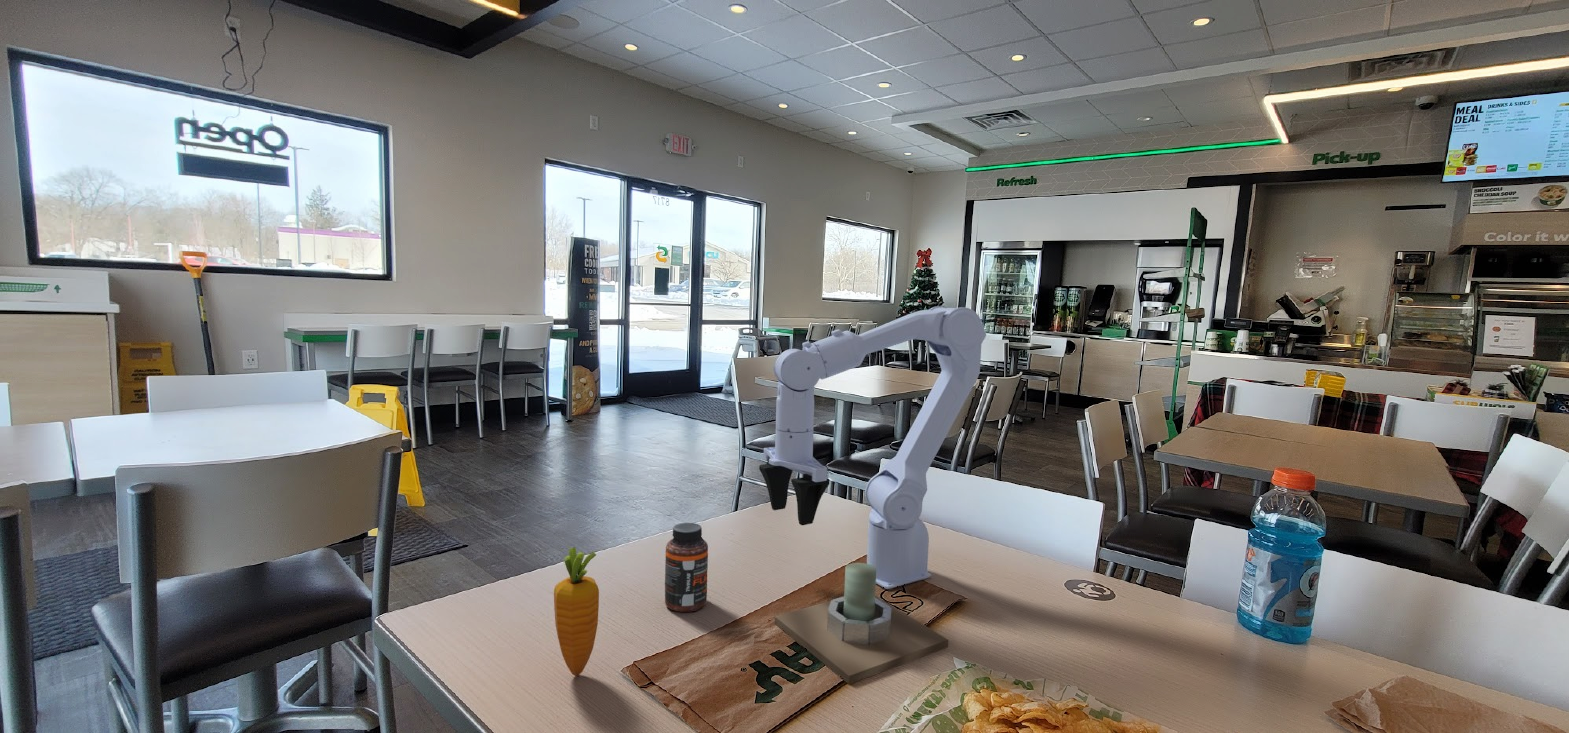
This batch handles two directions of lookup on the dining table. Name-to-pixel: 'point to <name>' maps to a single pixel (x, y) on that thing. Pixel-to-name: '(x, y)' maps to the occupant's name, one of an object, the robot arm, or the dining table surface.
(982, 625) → the dining table surface
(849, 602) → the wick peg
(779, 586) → the dining table surface
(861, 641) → the collar ring
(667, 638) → the dining table surface
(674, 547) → the supplement bottle
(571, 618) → the carrot
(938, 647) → the collar board
